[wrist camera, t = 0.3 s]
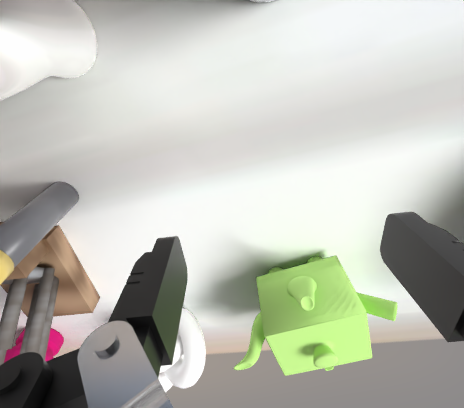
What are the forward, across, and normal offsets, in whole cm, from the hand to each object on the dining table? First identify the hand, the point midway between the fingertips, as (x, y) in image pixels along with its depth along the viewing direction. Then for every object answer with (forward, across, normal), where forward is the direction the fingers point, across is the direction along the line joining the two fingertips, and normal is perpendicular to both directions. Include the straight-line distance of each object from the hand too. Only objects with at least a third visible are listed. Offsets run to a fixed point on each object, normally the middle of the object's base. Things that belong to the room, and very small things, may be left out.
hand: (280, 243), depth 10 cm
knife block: (+18, +28, +14) cm, 36 cm away
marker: (+18, +21, +4) cm, 27 cm away
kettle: (+19, -5, +21) cm, 29 cm away
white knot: (+19, +14, +28) cm, 37 cm away
